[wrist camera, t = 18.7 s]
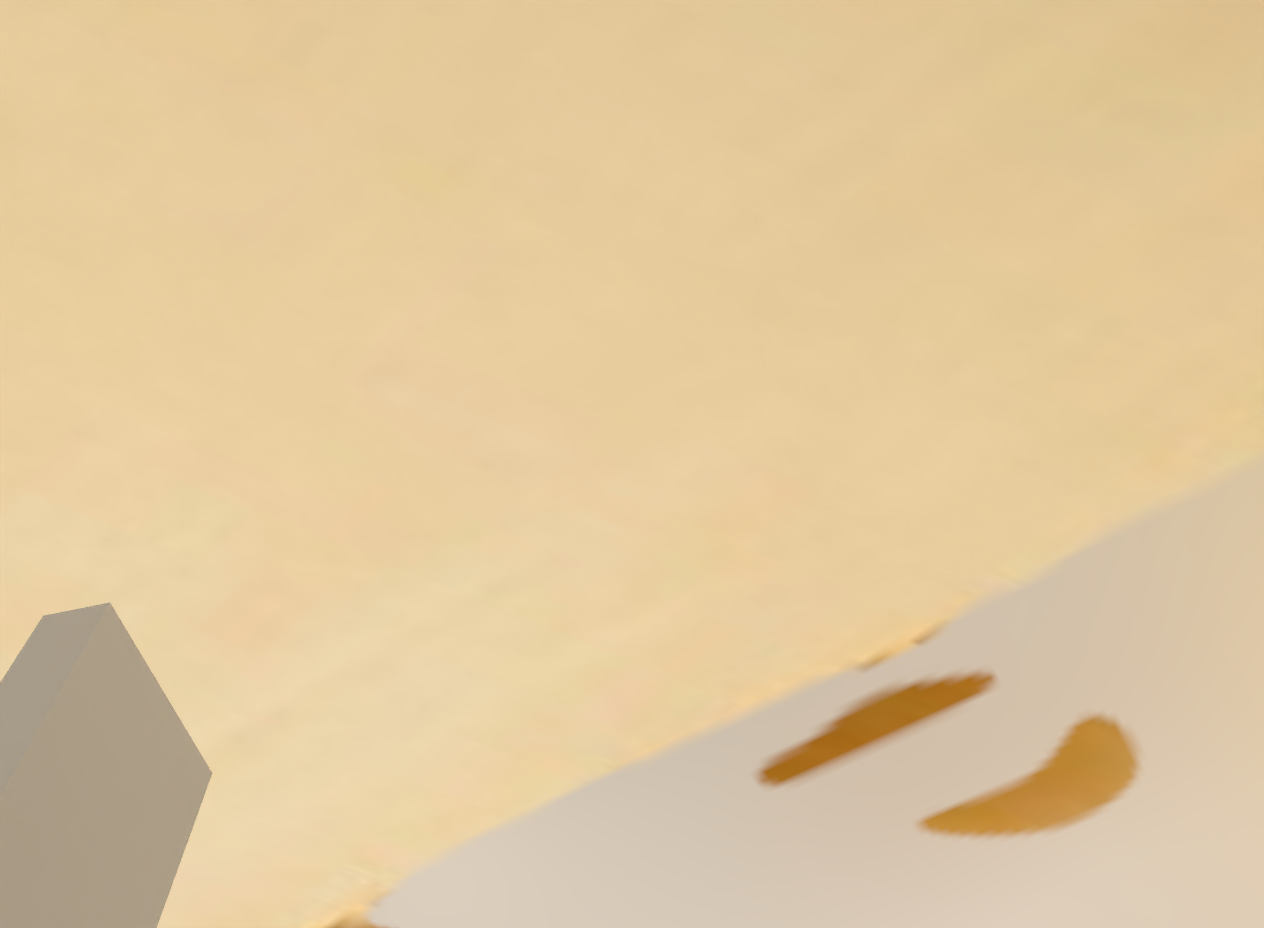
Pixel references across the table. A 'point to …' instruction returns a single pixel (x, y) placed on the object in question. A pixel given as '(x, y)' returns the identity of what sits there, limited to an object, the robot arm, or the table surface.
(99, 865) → the robot arm
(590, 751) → the table surface
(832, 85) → the table surface
